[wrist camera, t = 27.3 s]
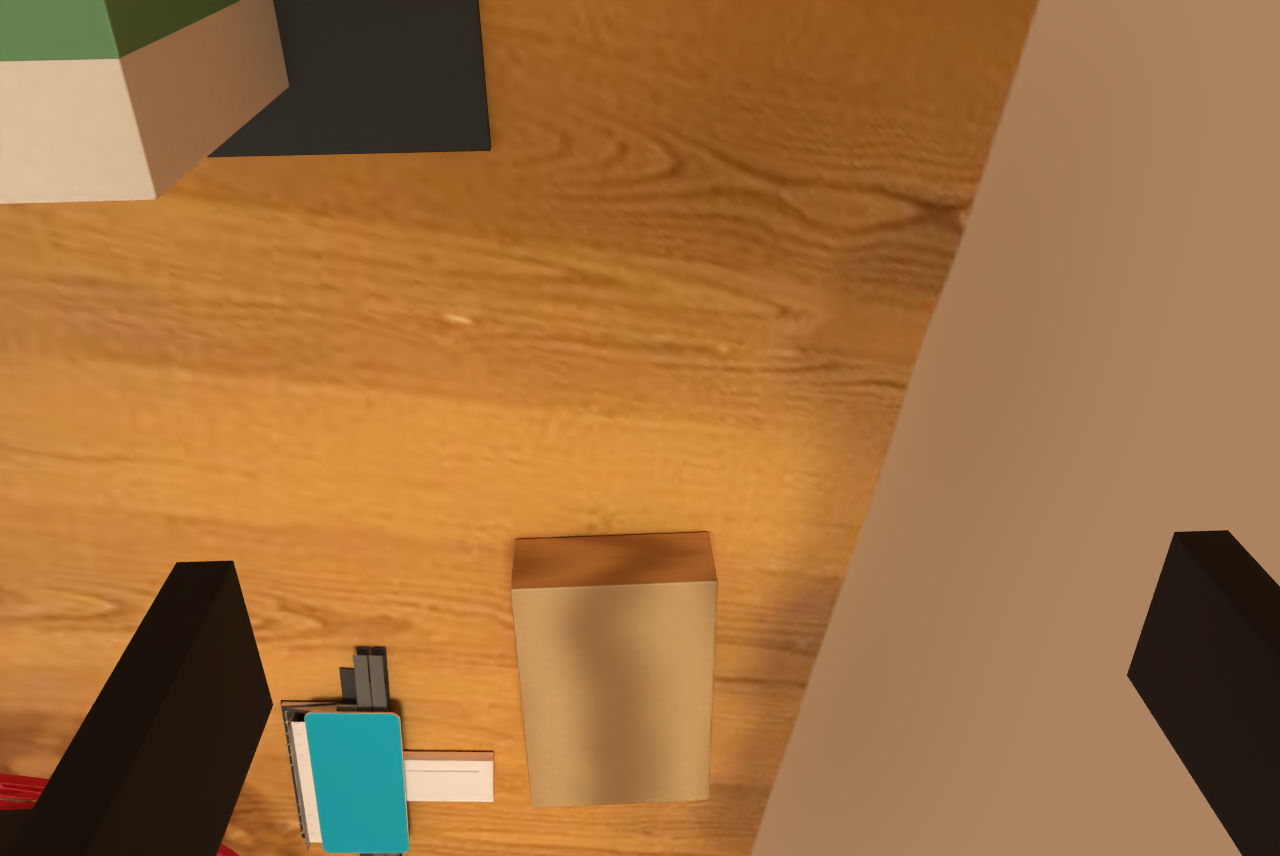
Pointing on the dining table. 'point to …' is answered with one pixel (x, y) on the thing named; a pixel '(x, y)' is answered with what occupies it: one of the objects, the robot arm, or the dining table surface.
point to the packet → (126, 92)
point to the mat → (373, 81)
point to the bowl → (32, 790)
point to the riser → (616, 666)
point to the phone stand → (369, 766)
